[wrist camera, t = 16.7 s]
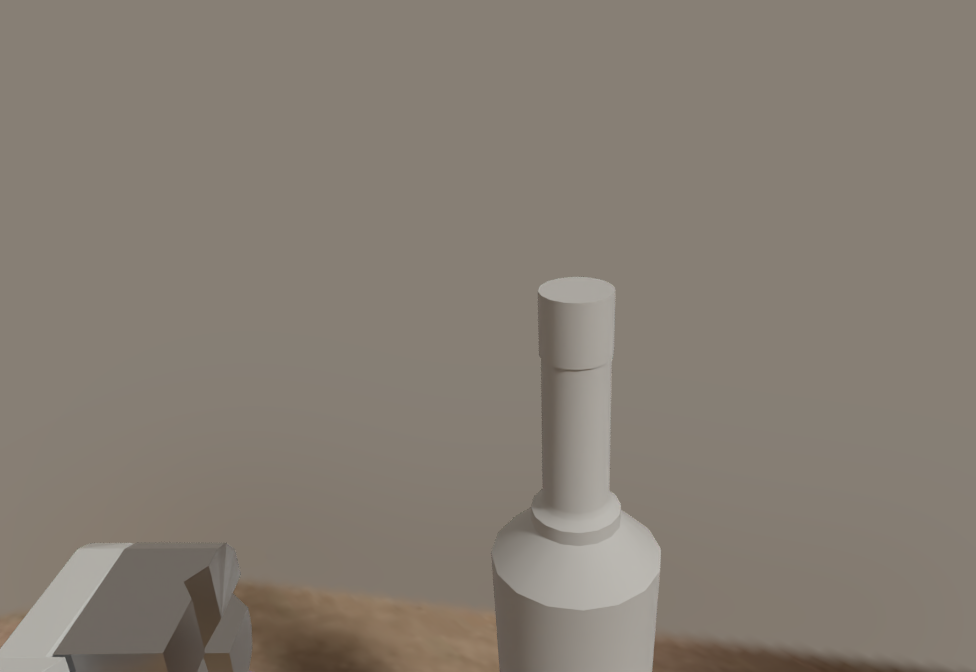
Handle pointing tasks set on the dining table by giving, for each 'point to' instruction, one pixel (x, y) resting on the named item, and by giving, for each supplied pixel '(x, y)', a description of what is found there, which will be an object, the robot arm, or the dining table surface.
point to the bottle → (575, 513)
